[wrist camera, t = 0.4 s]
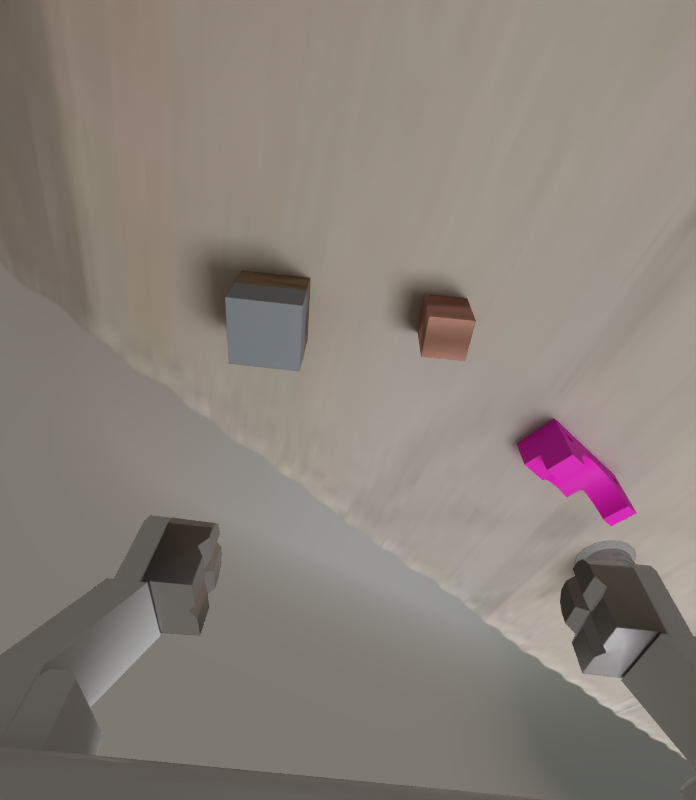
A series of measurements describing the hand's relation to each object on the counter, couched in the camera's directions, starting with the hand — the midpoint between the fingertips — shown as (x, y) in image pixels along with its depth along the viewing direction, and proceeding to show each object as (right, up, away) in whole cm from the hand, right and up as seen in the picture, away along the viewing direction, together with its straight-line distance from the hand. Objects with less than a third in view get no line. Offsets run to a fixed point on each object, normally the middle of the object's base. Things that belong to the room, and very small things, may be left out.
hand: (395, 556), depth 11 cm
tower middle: (-10, +13, +44) cm, 47 cm away
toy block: (+31, -5, +59) cm, 66 cm away
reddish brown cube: (+10, +14, +46) cm, 49 cm away
